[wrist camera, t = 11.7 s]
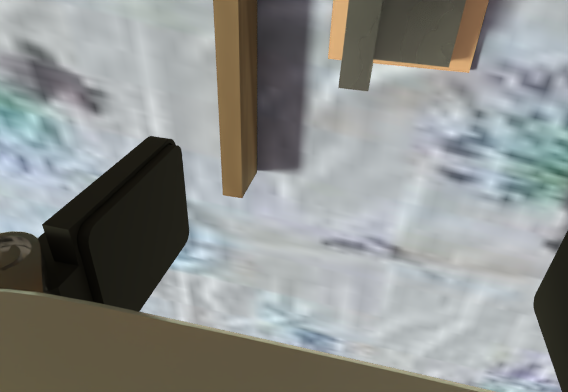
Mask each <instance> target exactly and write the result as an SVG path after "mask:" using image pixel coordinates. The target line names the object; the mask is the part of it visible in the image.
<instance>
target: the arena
mask: <svg viewBox="0 0 568 392" xmlns="http://www.w3.org/2000/svg"><path fill="white" fill-rule="evenodd" d="M213 6H214V26H215V46H216V66H217V86H218V106H219V126H220V146H221V166H222V186H223V195H226V196H232V197H238V198H243V196H244V194H245V192H246V190H247V189H248V187H249V185H250V183H251V182H252V180H253V178H254V176H255V175H256V173H257V0H213Z"/></svg>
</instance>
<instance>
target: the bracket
mask: <svg viewBox="0 0 568 392" xmlns="http://www.w3.org/2000/svg"><path fill="white" fill-rule="evenodd" d="M465 3H466V0H349V3H348V12H347V20H346V28H345V37H344V45H343V54H342V62H341V71H340V79H339V88H345V89H353V90H362V91H368V89H369V83H370V77H371V72H372V66H373V60H383V61H393V62H402V63H412V64H421V65H431V66H440V67H449V65H450V61H451V57H452V53H453V49H454V45H455V42H456V38H457V34H458V30H459V26H460V22H461V18H462V14H463V10H464V7H465Z"/></svg>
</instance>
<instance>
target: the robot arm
mask: <svg viewBox="0 0 568 392" xmlns="http://www.w3.org/2000/svg"><path fill="white" fill-rule="evenodd" d="M42 226H43V229H44V233H43V234H42V235H41V236H40V237H39V238H36V237H35V236H34V235H32V234H29V233H26V232H13V231H12V232H5V233H0V392H495V391H491V390H487V389H482V388H478V387H474V386H469V385H465V384H461V383H456V382H452V381H448V380H443V379H439V378H435V377H430V376H426V375H422V374H417V373H413V372H408V371H404V370H399V369H395V368H391V367H386V366H382V365H377V364H373V363H368V362H364V361H360V360H355V359H351V358H346V357H342V356H337V355H333V354H329V353H324V352H320V351H315V350H311V349H306V348H302V347H297V346H293V345H288V344H284V343H279V342H275V341H270V340H266V339H262V338H257V337H252V336H248V335H243V334H239V333H234V332H230V331H225V330H220V329H216V328H211V327H207V326H202V325H198V324H193V323H188V322H184V321H179V320H175V319H170V318H166V317H161V316H157V315H152V314H147V313H143V312H139V311H140V310H141V308H142V307H143V305H144V304H145V302H146V301H147V300H148V298H149V297H150V295H151V294H152V292H153V291H154V289H155V288H156V286H157V285H158V283H159V282H160V281H161V279H162V278H163V276H164V275H165V273H166V272H167V270H168V269H169V267H170V266H171V264H172V263H173V262H174V260H175V259H176V257H177V256H178V254H179V253H180V251H181V250H182V248H183V247H184V246H185V244H186V242H187V240H188V236H189V224H188V213H187V203H186V193H185V182H184V172H183V161H182V152H181V148H180V147H179V146H176V145H175V142H174V141H173V140H172V139H167V138H160V137H153V136H150V137H148V138H146V139H145V140H144V141H143V142H142V143H140V144H139V145H138V146H137V147H136V148H134V149H133V150H132V151H131V152H129V153H128V154H127V155H126V156H125V157H123V158H122V159H121V160H120V161H119V162H117V163H116V164H115V165H114V166H113V167H111V168H110V169H109V170H108V171H106V172H105V173H104V174H103V175H102V176H100V177H99V178H98V179H97V180H96V181H94V182H93V183H92V184H91V185H90V186H88V187H87V188H86V189H85V190H83V191H82V192H81V193H80V194H79V195H77V196H76V197H75V198H74V199H73V200H71V201H70V202H69V203H68V204H66V205H65V206H64V207H63V208H62V209H60V210H59V211H58V212H57V213H56V214H54V215H53V216H52V217H51V218H50V219H48V220H47V221H46V222H45V223H43V224H42ZM534 311H535V314H536V317H537V320H538V323H539V326H540V329H541V332H542V334H543V337H544V340H545V343H546V346H547V349H548V352H549V355H550V358H551V361H552V364H553V367H554V369H555V372H556V375H557V378H558V381H559V384H560V387H561V390H562V392H568V231H567V233H566V235H565V237H564V239H563V241H562V243H561V245H560V247H559V249H558V251H557V253H556V255H555V257H554V259H553V261H552V263H551V265H550V267H549V269H548V271H547V273H546V275H545V277H544V278H543V280H542V282H541V284H540V286H539V288H538V290H537V292H536V295H535V297H534Z"/></svg>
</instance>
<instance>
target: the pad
mask: <svg viewBox="0 0 568 392" xmlns="http://www.w3.org/2000/svg"><path fill="white" fill-rule="evenodd" d="M488 2H489V0H466V3H465V7H464V10H463V14H462V18H461V22H460V26H459V30H458V34H457V38H456V42H455V45H454V49H453V53H452V57H451V61H450V65H449V67H440V66H431V65H421V64H412V63H402V62H393V61H383V60H373V63H377V64H387V65H397V66H407V67H417V68H427V69H438V70H448V71H458V72H468V73H469V71H470V67H471V63H472V60H473V56H474V52H475V49H476V45H477V42H478V38H479V34H480V31H481V27H482V23H483V20H484V16H485V13H486V9H487V5H488ZM348 3H349V0H333V10H332V21H331V32H330V43H329V54H328V59H337V60H342V54H343V45H344V37H345V28H346V20H347V12H348Z"/></svg>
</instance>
